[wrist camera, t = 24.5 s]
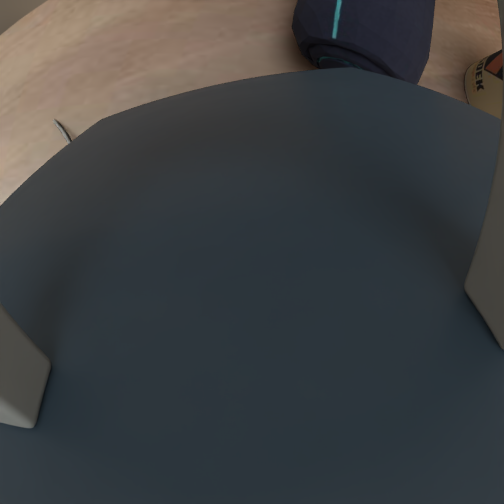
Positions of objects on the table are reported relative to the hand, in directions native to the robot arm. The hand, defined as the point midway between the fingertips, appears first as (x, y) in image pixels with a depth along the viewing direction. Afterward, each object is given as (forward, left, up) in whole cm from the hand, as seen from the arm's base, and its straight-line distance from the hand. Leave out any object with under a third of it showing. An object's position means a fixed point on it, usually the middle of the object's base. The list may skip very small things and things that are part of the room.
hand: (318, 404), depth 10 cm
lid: (+8, +1, 0) cm, 8 cm away
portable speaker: (+24, -13, -17) cm, 32 cm away
